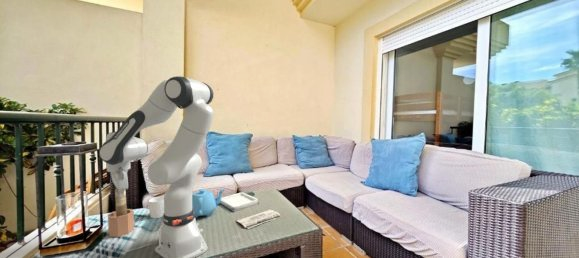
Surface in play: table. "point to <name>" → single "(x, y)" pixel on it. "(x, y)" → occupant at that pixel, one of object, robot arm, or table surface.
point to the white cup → (156, 207)
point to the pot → (120, 223)
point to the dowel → (120, 203)
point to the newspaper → (258, 218)
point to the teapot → (205, 202)
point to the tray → (238, 201)
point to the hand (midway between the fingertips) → (120, 195)
